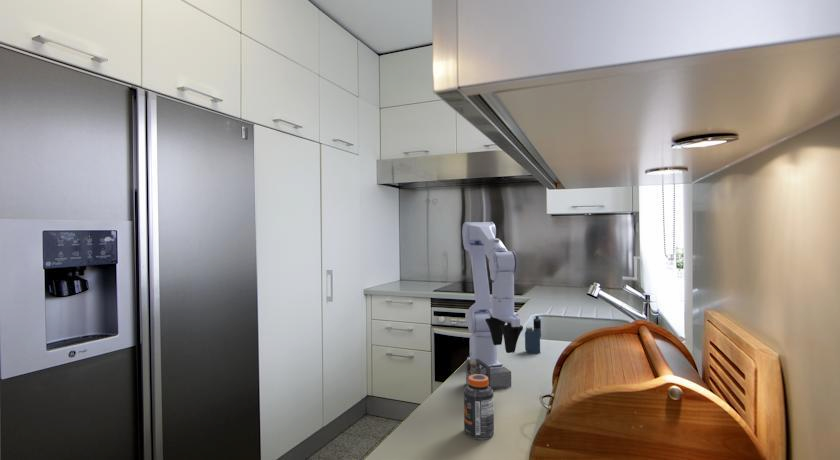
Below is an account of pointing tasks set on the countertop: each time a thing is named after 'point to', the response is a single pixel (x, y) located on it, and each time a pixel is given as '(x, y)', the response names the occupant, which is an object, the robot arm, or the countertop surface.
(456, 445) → the countertop surface
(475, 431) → the pill bottle
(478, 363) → the bracket
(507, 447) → the countertop surface
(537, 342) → the vaping device
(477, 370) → the dark grey rectangular frame
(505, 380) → the gray rectangular prism
